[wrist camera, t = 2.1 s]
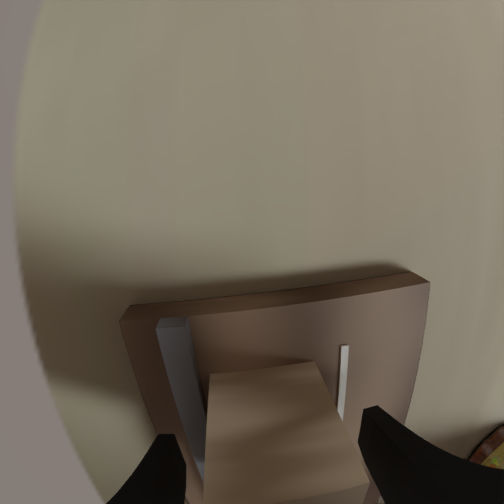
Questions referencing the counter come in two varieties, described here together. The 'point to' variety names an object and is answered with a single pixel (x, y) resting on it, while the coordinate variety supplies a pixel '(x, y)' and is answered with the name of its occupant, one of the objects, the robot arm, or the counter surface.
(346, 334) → the walnut board
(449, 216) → the counter surface
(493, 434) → the sauce bottle
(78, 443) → the counter surface
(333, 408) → the maple block
